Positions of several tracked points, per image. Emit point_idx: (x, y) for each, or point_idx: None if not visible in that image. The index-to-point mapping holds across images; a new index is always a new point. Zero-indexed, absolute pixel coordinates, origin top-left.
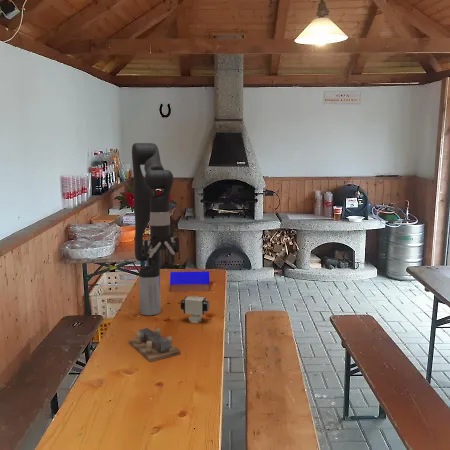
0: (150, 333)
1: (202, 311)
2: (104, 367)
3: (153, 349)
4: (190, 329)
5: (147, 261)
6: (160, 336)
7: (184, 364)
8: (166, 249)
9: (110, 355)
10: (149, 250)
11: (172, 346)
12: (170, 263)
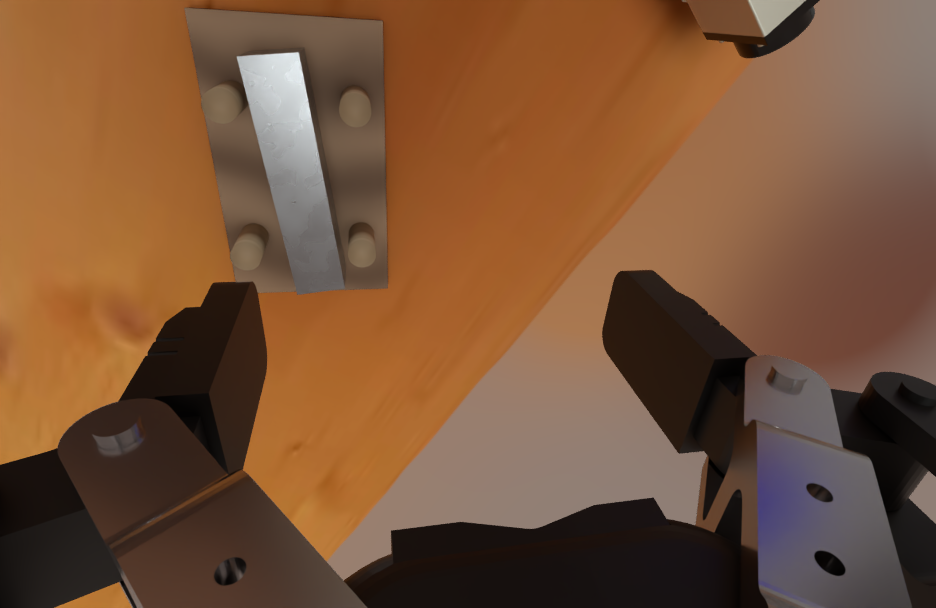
0: (288, 155)
1: (715, 33)
2: (13, 237)
3: None
4: (581, 43)
5: (148, 367)
6: (325, 224)
7: (359, 359)
8: (750, 428)
9: (52, 121)
10: (121, 574)
11: (378, 231)
12: (610, 313)
